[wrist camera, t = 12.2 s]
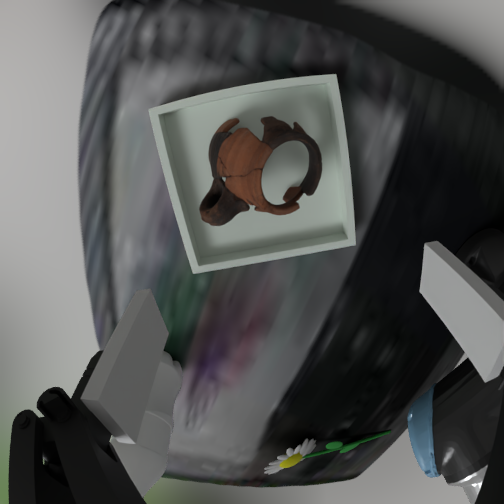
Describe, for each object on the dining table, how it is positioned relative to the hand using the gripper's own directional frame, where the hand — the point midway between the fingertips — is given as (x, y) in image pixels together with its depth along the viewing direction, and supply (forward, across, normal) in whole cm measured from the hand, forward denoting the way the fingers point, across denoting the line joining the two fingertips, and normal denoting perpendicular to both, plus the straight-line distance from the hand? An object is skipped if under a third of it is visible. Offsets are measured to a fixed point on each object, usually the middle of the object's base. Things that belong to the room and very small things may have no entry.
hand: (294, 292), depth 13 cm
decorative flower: (+20, -6, +55) cm, 59 cm away
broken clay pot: (+19, +1, -3) cm, 19 cm away
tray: (+19, +1, -2) cm, 19 cm away
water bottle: (+19, +20, +22) cm, 35 cm away
